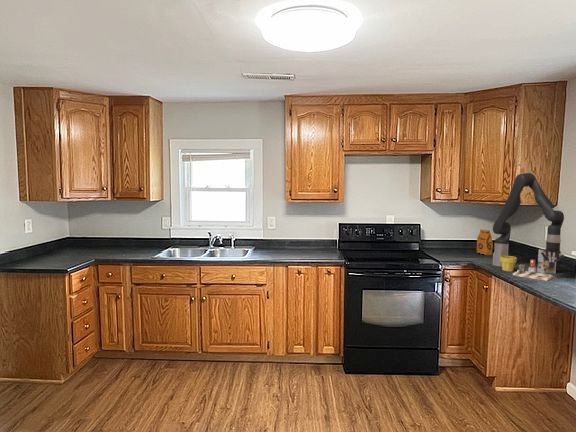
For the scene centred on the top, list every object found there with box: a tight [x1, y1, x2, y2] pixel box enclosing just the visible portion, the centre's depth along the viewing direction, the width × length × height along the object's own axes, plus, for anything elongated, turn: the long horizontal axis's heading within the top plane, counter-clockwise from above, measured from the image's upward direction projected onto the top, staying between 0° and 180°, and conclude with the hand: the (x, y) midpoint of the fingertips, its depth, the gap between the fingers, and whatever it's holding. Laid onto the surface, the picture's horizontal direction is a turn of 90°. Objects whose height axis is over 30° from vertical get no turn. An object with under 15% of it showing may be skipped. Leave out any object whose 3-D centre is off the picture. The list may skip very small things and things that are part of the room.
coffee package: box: [476, 229, 494, 256], centre depth 343 cm, size 10×12×22 cm
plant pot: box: [500, 255, 518, 272], centre depth 277 cm, size 10×10×10 cm
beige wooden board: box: [512, 263, 554, 282], centre depth 258 cm, size 20×12×6 cm, turn 41°
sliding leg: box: [527, 259, 537, 274], centre depth 259 cm, size 4×8×9 cm, turn 131°
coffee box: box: [536, 248, 558, 274], centre depth 271 cm, size 9×6×16 cm
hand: (551, 267), depth 252 cm, fingers closed
